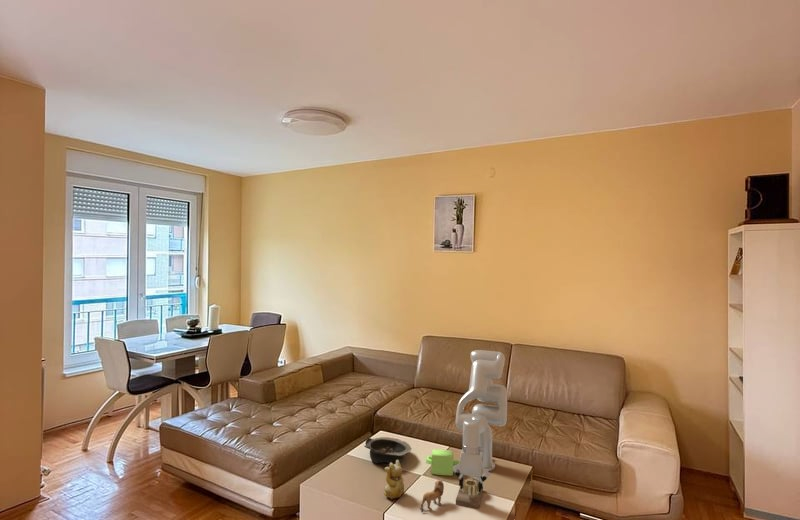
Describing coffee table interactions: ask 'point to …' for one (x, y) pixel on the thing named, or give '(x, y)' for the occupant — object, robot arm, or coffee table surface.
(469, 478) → the grey gear
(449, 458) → the green square teapot
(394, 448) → the stone bowl
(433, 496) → the lion figurine
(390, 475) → the decorative figurine
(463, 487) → the brass gear
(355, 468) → the coffee table surface
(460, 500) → the gear board
